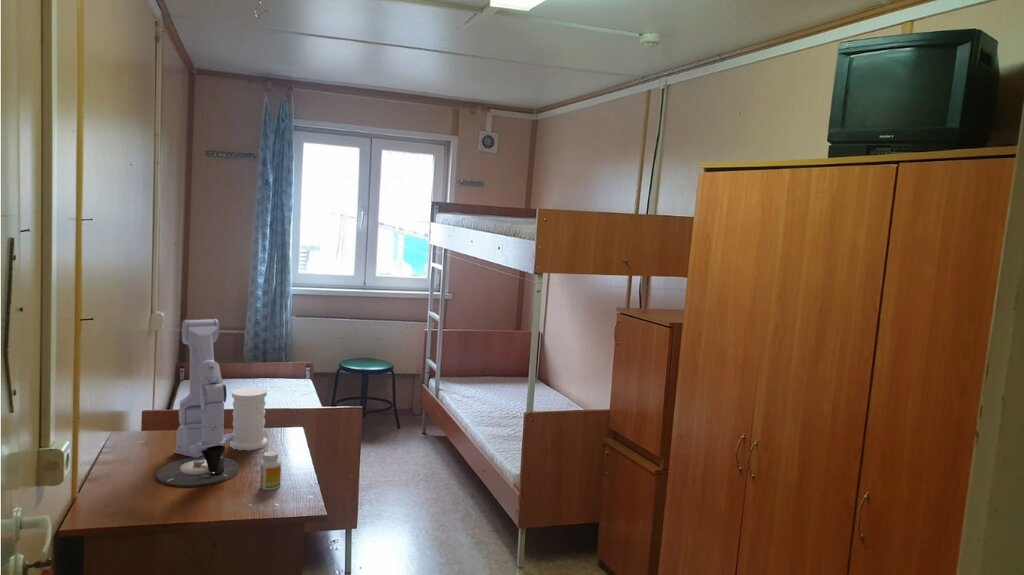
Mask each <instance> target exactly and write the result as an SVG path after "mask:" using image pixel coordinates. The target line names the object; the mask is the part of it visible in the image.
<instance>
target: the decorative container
mask: <svg viewBox="0 0 1024 575" xmlns="http://www.w3.org/2000/svg"><path fill="white" fill-rule="evenodd" d="M267 394H268V393H267V389H265V388H262V387H242V388H238V389H234V390H232V391H231V398H233V402H232V407H233V411H232V417H233V420H232V427H233V430H232V433H231V434H235V440H234V441H229V447H230V448H231V447H232V448H233V449H232V448H231V449H232V450H235V449H238V450H237V451H242V450H247V451H255V450H256V451H257V450H260V449H263V448H265V447H266V446H268V439H267V437H265V434H266V429H265V424H266V419H265V415H266V409H265V406H266V400H265V398H266V397H267Z"/></svg>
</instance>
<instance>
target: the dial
mask: <svg viewBox="0 0 1024 575" xmlns="http://www.w3.org/2000/svg"><path fill="white" fill-rule="evenodd" d="M224 458H225V456H222V455H221V457H220V460H219V463H218V466H217V470H216V472H214V473H217V474H219V473H223V472H224ZM180 472H181V473H183V474H186V475H202V474H207V473H211V472H210V471H209V469H208V465H207V462H206V460H195V461H190V462H187V463H184V464H182V465H181V466H180Z"/></svg>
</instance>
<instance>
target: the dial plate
mask: <svg viewBox="0 0 1024 575" xmlns="http://www.w3.org/2000/svg"><path fill="white" fill-rule="evenodd" d="M195 460H206V459H205V457H204V456H199V457H189V458H184V459H183V458H182V459H179V460H176V461H173V462H169V463H167V464H165V465H163V466H162V467H161V468H158V470H157V473H156V478H157V480H158V482H160V483H161V484H164V485H166V484H167V485H168V486H171V485H173V486H172V487H178V486H183V487H182V488H191V487H192V488H194V486H196V487H204V486H203V485H205V486H209V485H208V484H211V485H214V484H213V483H215V484H217V483H216V482H219V483H221V482H220V481H222V482H224V481H223V480H225V481H227V480H226V479H227V478H229V477H231V476H233V475H235V474H236V473H237V472H238V471H239V472H240V464H239V462H237V461H236V460H235V459H231V458H228V457H224V472H223V473H219V474H217V473H214V472H211V473H207V474H202V475H186V474H183V473H181V472H180V466H181V465H182V464H184V463H187V462H190V461H195ZM239 472H238V473H239ZM238 473H237V474H238ZM237 474H236V475H237ZM236 475H235V476H236Z"/></svg>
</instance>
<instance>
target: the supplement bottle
mask: <svg viewBox="0 0 1024 575" xmlns="http://www.w3.org/2000/svg"><path fill="white" fill-rule="evenodd" d="M262 458H263V460H261V462H260V472H259V473H260V475H259V476H260V478H259V479H260V480H259V481H260V482H259V484H260V489H262V490H266V491H273V490H277V489H279V488H280V487H281V477H282V476H281V470H282V469H281V468H282V467H281V466H282V465H281V464H282V463H281V461H280V459H279V452H277V451H271V450H270V451H265V452H264V453H263V456H262Z"/></svg>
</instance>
